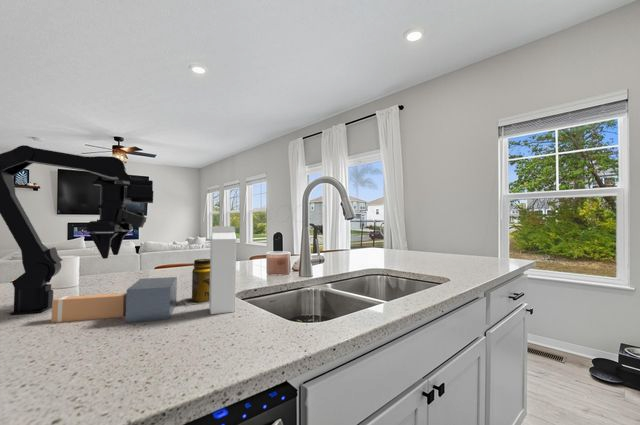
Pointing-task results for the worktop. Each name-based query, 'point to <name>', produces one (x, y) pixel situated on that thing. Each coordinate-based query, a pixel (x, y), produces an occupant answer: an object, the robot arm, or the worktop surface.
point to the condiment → (200, 282)
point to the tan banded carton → (88, 307)
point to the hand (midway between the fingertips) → (110, 256)
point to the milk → (222, 269)
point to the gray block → (151, 299)
